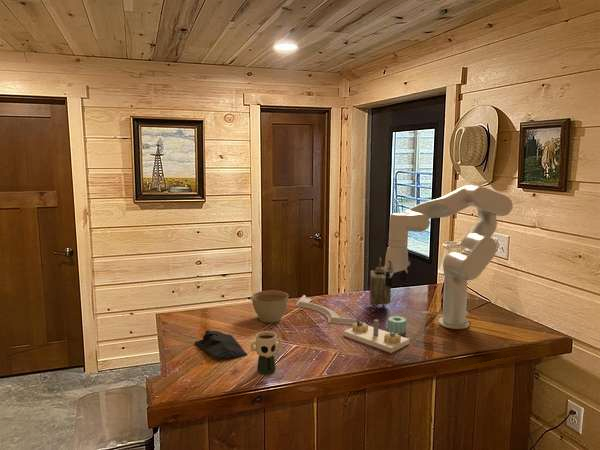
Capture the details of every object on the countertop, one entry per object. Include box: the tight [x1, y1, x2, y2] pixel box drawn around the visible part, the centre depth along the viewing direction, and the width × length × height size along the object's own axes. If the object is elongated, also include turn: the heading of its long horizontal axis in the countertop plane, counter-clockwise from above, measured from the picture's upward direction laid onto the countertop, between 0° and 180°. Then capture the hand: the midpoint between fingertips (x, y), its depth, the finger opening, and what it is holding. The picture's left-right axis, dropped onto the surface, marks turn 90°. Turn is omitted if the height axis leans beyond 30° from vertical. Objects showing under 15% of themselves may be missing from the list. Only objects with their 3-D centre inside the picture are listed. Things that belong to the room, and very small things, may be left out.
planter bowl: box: [251, 290, 289, 324], centre depth 209 cm, size 16×16×11 cm
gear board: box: [343, 319, 410, 354], centre depth 187 cm, size 12×23×8 cm, turn 45°
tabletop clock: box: [369, 256, 392, 313], centre depth 222 cm, size 14×9×25 cm, turn 172°
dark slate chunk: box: [195, 329, 248, 360], centre depth 179 cm, size 15×22×5 cm
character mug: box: [250, 330, 282, 375], centre depth 160 cm, size 11×7×13 cm, turn 112°
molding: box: [295, 294, 357, 326], centre depth 219 cm, size 42×12×3 cm, turn 34°
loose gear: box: [386, 315, 407, 335], centre depth 197 cm, size 8×8×5 cm
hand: (396, 284), depth 194 cm, fingers open, 9 cm apart
